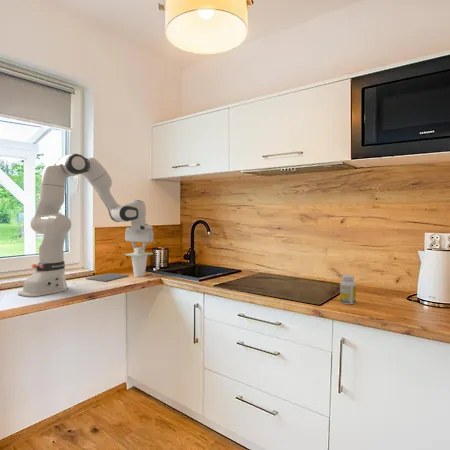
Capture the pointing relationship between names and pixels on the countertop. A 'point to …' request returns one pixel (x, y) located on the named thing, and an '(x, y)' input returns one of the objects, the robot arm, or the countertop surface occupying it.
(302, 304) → the countertop surface
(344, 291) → the pill bottle
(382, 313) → the countertop surface
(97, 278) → the mat
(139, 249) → the lid
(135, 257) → the foam cup
